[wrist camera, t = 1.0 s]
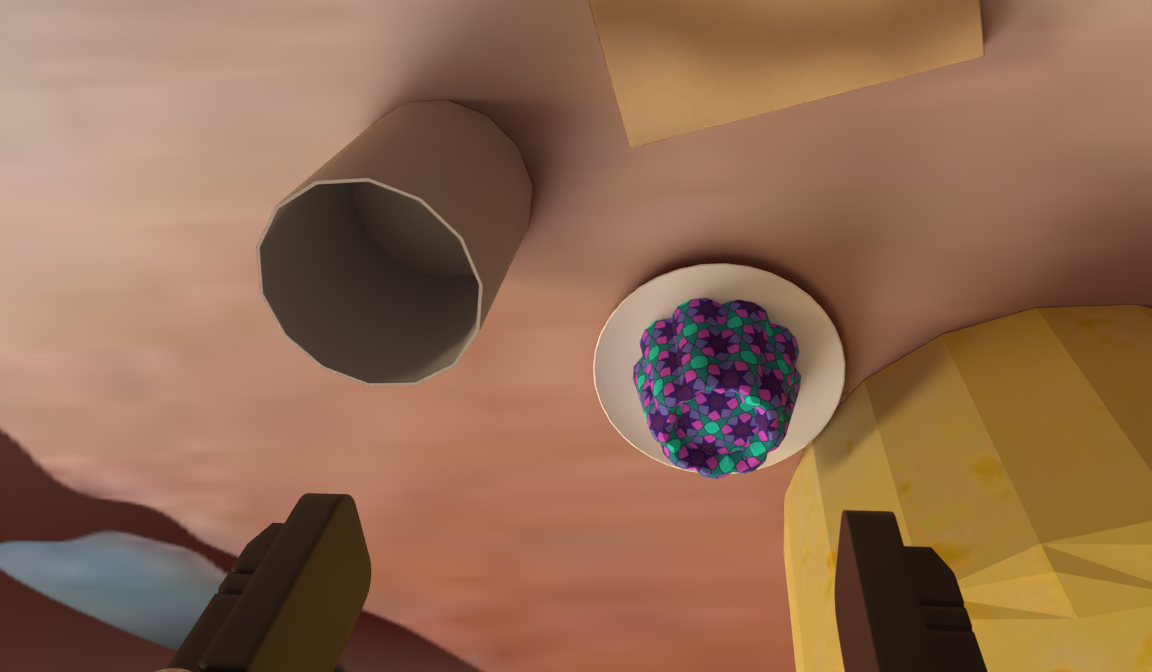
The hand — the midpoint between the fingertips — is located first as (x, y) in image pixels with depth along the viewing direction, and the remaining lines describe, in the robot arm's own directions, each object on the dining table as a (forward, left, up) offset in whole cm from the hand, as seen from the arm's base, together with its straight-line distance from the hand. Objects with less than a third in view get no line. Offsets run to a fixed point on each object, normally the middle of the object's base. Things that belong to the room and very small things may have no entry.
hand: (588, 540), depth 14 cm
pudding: (+13, -1, -26) cm, 29 cm away
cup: (+1, -11, -26) cm, 28 cm away
